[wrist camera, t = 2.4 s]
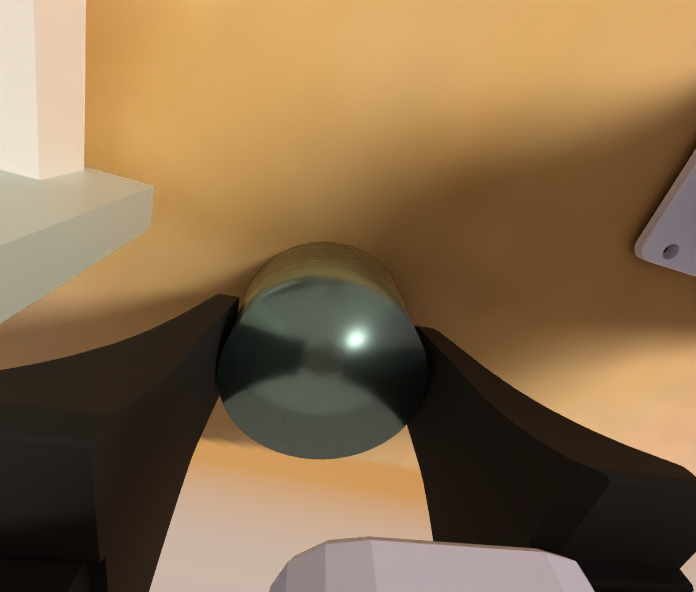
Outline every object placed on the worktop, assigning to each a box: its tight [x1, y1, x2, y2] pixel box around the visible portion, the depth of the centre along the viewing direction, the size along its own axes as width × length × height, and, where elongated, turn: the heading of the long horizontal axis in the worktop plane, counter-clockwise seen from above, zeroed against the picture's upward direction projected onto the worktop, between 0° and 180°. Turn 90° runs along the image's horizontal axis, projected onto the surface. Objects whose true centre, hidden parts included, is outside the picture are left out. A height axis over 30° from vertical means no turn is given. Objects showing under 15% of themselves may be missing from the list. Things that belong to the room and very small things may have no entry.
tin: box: [217, 242, 428, 459], centre depth 11 cm, size 5×5×4 cm
